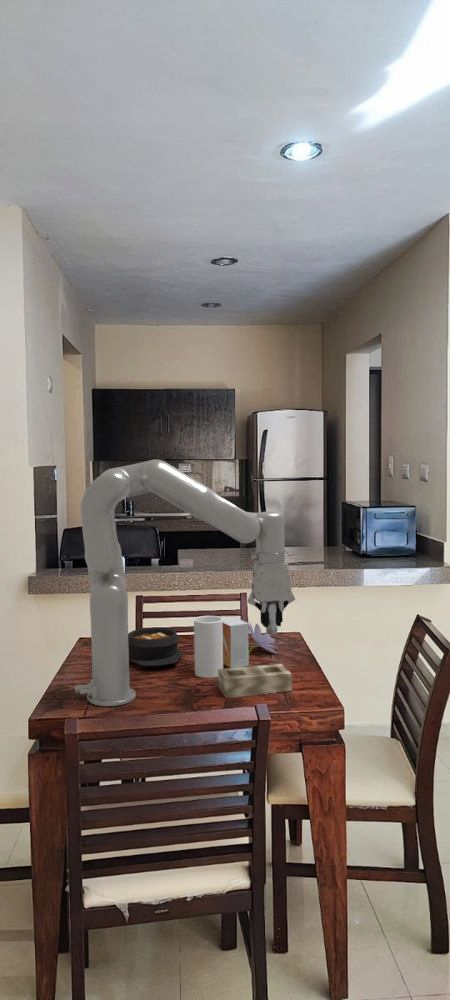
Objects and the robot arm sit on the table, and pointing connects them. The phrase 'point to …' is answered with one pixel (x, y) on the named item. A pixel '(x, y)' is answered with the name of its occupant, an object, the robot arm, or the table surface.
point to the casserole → (153, 646)
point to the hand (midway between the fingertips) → (271, 625)
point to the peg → (271, 617)
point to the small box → (235, 643)
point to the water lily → (261, 638)
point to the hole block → (254, 680)
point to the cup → (208, 646)
